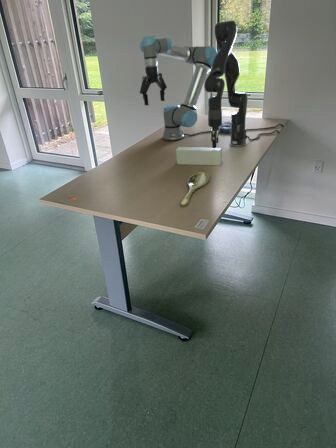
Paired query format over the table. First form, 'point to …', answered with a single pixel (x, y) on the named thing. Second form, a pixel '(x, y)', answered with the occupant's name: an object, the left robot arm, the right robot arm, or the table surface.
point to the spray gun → (225, 127)
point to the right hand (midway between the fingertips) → (215, 145)
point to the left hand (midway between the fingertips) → (154, 103)
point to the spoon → (195, 184)
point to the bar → (199, 155)
